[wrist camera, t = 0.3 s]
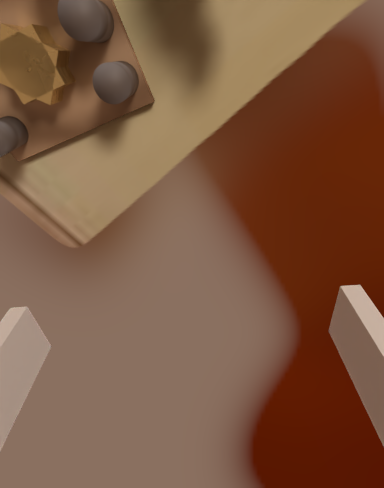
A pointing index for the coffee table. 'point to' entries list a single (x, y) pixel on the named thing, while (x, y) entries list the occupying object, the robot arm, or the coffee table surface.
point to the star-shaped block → (33, 63)
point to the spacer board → (83, 70)
